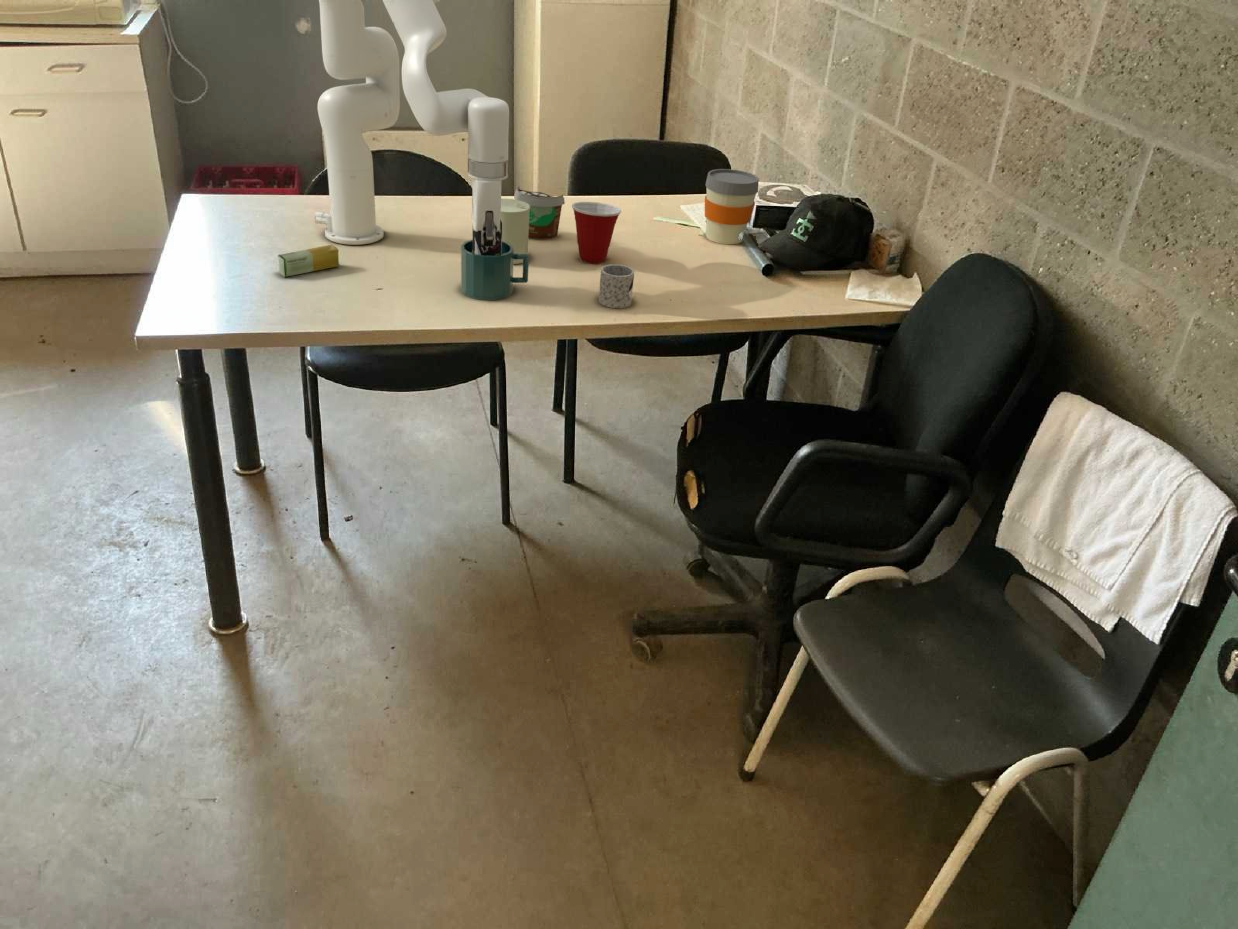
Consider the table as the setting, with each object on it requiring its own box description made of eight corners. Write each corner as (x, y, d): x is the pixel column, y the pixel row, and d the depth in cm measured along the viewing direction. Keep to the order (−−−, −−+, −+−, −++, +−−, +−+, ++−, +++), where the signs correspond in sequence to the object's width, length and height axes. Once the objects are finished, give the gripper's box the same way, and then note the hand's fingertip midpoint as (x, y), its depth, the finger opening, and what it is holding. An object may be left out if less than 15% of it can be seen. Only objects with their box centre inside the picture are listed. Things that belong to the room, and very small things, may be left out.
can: (521, 267, 208) (523, 212, 201) (480, 260, 209) (481, 205, 202) (533, 253, 215) (535, 199, 209) (493, 247, 216) (494, 194, 210)
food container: (503, 233, 225) (504, 191, 219) (515, 226, 230) (517, 184, 224) (551, 244, 221) (553, 201, 216) (563, 237, 226) (565, 194, 221)
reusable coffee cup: (725, 250, 228) (734, 186, 220) (688, 234, 236) (695, 172, 228) (760, 241, 235) (770, 179, 227) (723, 226, 243) (732, 166, 235)
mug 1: (462, 300, 190) (462, 256, 185) (459, 280, 198) (459, 238, 193) (530, 300, 192) (531, 257, 188) (524, 281, 201) (526, 239, 196)
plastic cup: (625, 257, 218) (629, 204, 212) (604, 271, 209) (608, 217, 203) (582, 247, 221) (585, 195, 215) (560, 260, 213) (562, 206, 207)
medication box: (284, 278, 192) (282, 259, 189) (278, 272, 193) (276, 254, 191) (340, 266, 199) (339, 248, 196) (333, 260, 200) (332, 243, 198)
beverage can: (476, 279, 190) (477, 219, 183) (468, 268, 194) (468, 210, 188) (504, 277, 192) (506, 218, 186) (496, 266, 196) (497, 208, 190)
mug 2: (635, 307, 194) (638, 276, 190) (603, 308, 192) (606, 276, 188) (621, 288, 202) (623, 258, 198) (590, 289, 200) (592, 258, 196)
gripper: (465, 155, 188) (465, 246, 198) (470, 179, 175) (470, 276, 184) (504, 156, 190) (502, 247, 199) (512, 180, 176) (509, 276, 186)
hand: (486, 260), depth 192 cm, fingers closed on beverage can, 3 cm apart
